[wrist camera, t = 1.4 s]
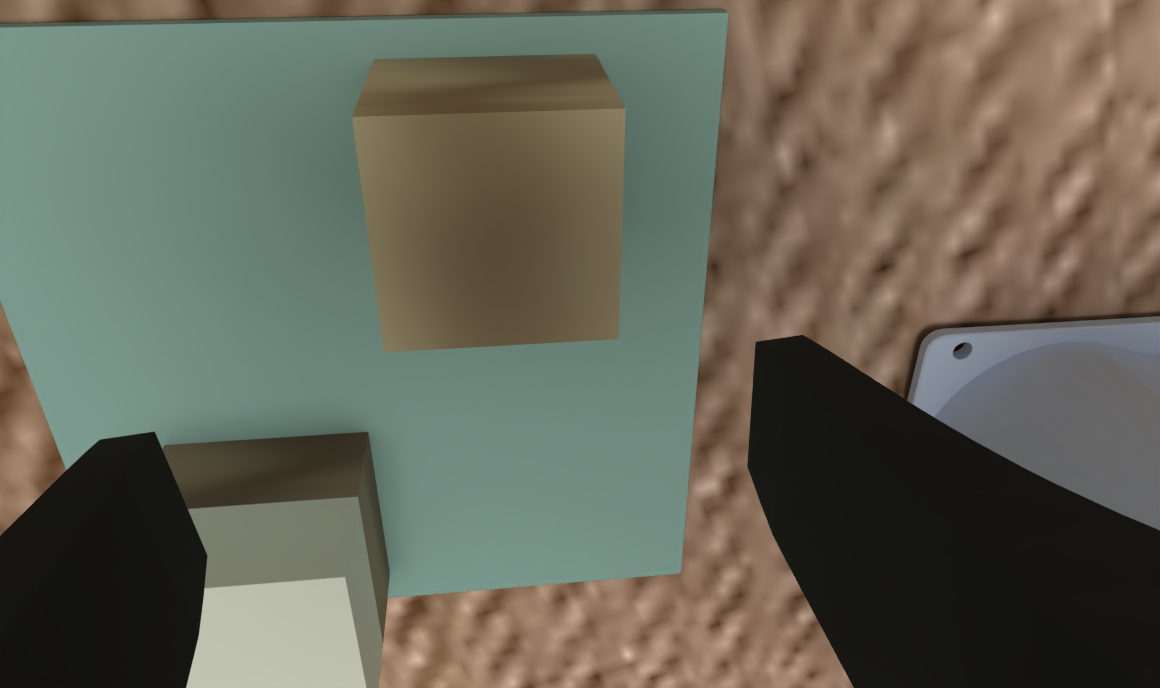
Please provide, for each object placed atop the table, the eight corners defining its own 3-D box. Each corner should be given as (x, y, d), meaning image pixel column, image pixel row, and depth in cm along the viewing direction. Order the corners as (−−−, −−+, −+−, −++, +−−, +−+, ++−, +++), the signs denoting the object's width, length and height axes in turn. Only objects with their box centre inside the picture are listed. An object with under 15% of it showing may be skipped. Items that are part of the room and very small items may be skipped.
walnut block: (368, 431, 22) (357, 496, 20) (389, 572, 25) (382, 643, 23) (164, 445, 22) (131, 513, 20) (208, 587, 24) (184, 661, 22)
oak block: (594, 53, 18) (625, 108, 15) (593, 251, 20) (619, 339, 17) (373, 59, 18) (351, 116, 14) (397, 261, 20) (384, 352, 16)
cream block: (357, 496, 20) (345, 576, 18) (382, 643, 23) (374, 728, 21) (131, 513, 20) (91, 597, 17) (183, 660, 22) (153, 750, 20)
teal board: (723, 9, 18) (728, 12, 18) (677, 563, 26) (680, 573, 26) (-93, 25, 17) (-105, 29, 16) (129, 608, 25) (124, 619, 25)
